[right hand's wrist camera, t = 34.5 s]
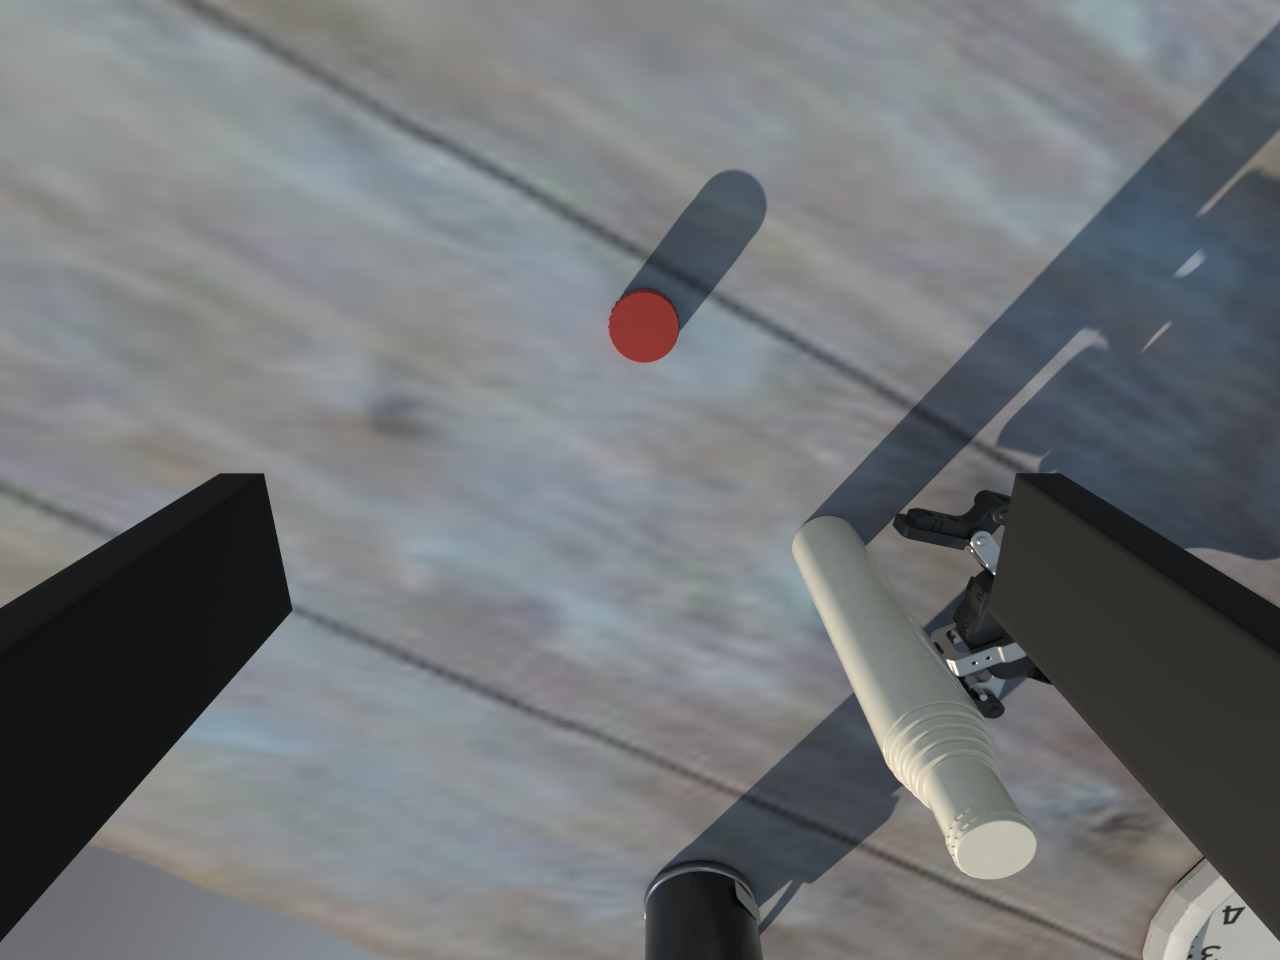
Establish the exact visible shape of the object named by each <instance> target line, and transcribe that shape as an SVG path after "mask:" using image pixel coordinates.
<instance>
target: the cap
mask: <svg viewBox="0 0 1280 960" xmlns="http://www.w3.org/2000/svg"><path fill="white" fill-rule="evenodd" d="M675 311H676V309H675V306H674V307H673V305H672V302H671V300H669V299H668V298H667V297H666V295H665V294H664V295H663V294H662V293H660V292H659V291H655V290H652V288H650V289H646V288H644V287H643V288H642V289H635V290H633V291H630V292H629V291H628V292H627V294H625V295H624V296H621V298H620V299H619V301H617V302H616V304H615V307H614V308H613V309H612V311H611V313H612V315H610V318H609V321H610V322H609V327H608V328H609V332H610V337H611V340H612V343H613V344H614V346H615V348H616V349H617V350H618V351H619V353H621V354H622V355H623V356H624V357H626V358H628V359H630V360H632V361H635V362H641V363H648V362H653V361H656V360H658V359H660V358H662V357H664V356H665V355H666V354H667V353H668V352H669V351H670V350H671V349H672V348H673V346H674V344H675V342H676V340H677V337H678V335H679V327H680V325H679V322H678V319H679V317H678V315H677V314H676V312H675Z"/></svg>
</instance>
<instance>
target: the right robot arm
mask: <svg viewBox="0 0 1280 960" xmlns="http://www.w3.org/2000/svg"><path fill="white" fill-rule="evenodd" d="M291 611H292V605H291V600H290V596H289V591H288V586H287V581H286V577H285V572H284V567H283V562H282V558H281V553H280V548H279V543H278V539H277V534H276V529H275V524H274V519H273V515H272V510H271V505H270V500H269V496H268V491H267V486H266V481H265V477H264V473H220V474H218V475H217V476H215V477H213V478H212V479H210V480H208V481H207V482H205V483H204V484H202V485H200V486H199V487H197V488H195V489H194V490H192V491H190V492H189V493H187V494H186V495H184V496H182V497H181V498H179V499H177V500H176V501H174V502H173V503H171V504H169V505H168V506H166V507H164V508H163V509H161V510H160V511H158V512H156V513H155V514H153V515H151V516H150V517H148V518H146V519H145V520H143V521H142V522H140V523H138V524H137V525H135V526H133V527H132V528H130V529H129V530H127V531H125V532H124V533H122V534H120V535H119V536H117V537H116V538H114V539H112V540H111V541H109V542H107V543H106V544H104V545H102V546H101V547H99V548H98V549H96V550H94V551H93V552H91V553H89V554H88V555H86V556H85V557H83V558H81V559H80V560H78V561H76V562H75V563H73V564H72V565H70V566H68V567H67V568H65V569H63V570H62V571H60V572H58V573H57V574H55V575H54V576H52V577H50V578H49V579H47V580H45V581H44V582H42V583H41V584H39V585H37V586H36V587H34V588H32V589H31V590H29V591H28V592H26V593H24V594H23V595H21V596H19V597H18V598H16V599H14V600H13V601H11V602H10V603H8V604H6V605H5V606H3V607H1V608H0V942H1V941H2V939H3V938H4V937H5V936H6V935H7V934H8V933H9V932H10V930H11V929H12V928H13V927H14V926H15V925H16V924H17V922H18V921H19V920H20V919H21V918H22V917H23V916H24V915H25V913H26V912H27V911H28V910H29V909H30V908H31V907H32V905H33V904H34V903H35V902H36V901H37V900H38V899H39V897H40V896H41V895H42V894H43V893H44V892H45V891H46V889H47V888H48V887H49V886H50V885H51V884H52V883H53V882H54V880H55V879H56V878H57V877H58V876H59V875H60V874H61V872H62V871H63V870H64V869H65V868H66V867H67V866H68V865H69V863H70V862H71V861H72V860H73V859H74V858H75V857H76V855H77V854H78V853H79V852H80V851H81V850H82V849H83V848H84V846H85V845H86V844H87V843H88V842H89V841H90V840H91V838H92V837H93V836H94V835H95V834H96V833H97V832H98V831H99V829H100V828H101V827H102V826H103V825H104V824H105V823H106V821H107V820H108V819H109V818H110V817H111V816H112V815H113V813H114V812H115V811H116V810H117V809H118V808H119V807H120V806H121V804H122V803H123V802H124V801H125V800H126V799H127V798H128V796H129V795H130V794H131V793H132V792H133V791H134V790H135V788H136V787H137V786H138V785H139V784H140V783H141V782H142V781H143V779H144V778H145V777H146V776H147V775H148V774H149V773H150V771H151V770H152V769H153V768H154V767H155V766H156V765H157V764H158V762H159V761H160V760H161V759H162V758H163V757H164V756H165V754H166V753H167V752H168V751H169V750H170V749H171V748H172V746H173V745H174V744H175V743H176V742H177V741H178V740H179V739H180V737H181V736H182V735H183V734H184V733H185V732H186V731H187V729H188V728H189V727H190V726H191V725H192V724H193V723H194V721H195V720H196V719H197V718H198V717H199V716H200V715H201V714H202V712H203V711H204V710H205V709H206V708H207V707H208V706H209V704H210V703H211V702H212V701H213V700H214V699H215V698H216V697H217V695H218V694H219V693H220V692H221V691H222V690H223V689H224V687H225V686H226V685H227V684H228V683H229V682H230V681H231V679H232V678H233V677H234V676H235V675H236V674H237V673H238V672H239V670H240V669H241V668H242V667H243V666H244V665H245V664H246V662H247V661H248V660H249V659H250V658H251V657H252V656H253V655H254V653H255V652H256V651H257V650H258V649H259V648H260V647H261V645H262V644H263V643H264V642H265V641H266V640H267V639H268V637H269V636H270V635H271V634H272V633H273V632H274V631H275V630H276V628H277V627H278V626H279V625H280V624H281V623H282V622H283V620H284V619H285V618H286V617H287V616H288V615H289V614H290V612H291ZM988 611H989V612H990V614H991V615H992V616H993V617H994V618H995V619H996V620H997V622H998V623H999V624H1000V625H1001V626H1002V627H1003V628H1004V630H1005V631H1006V632H1007V633H1008V634H1009V635H1010V636H1011V637H1012V639H1013V640H1014V641H1015V642H1016V643H1017V644H1018V645H1019V647H1020V648H1021V649H1022V650H1023V651H1024V652H1025V653H1026V655H1027V656H1028V657H1029V658H1030V659H1031V660H1032V661H1033V662H1034V664H1035V665H1036V666H1037V667H1038V668H1039V669H1040V670H1041V672H1042V673H1043V674H1044V675H1045V676H1046V677H1047V678H1048V679H1049V681H1050V682H1051V683H1052V684H1053V685H1054V686H1055V687H1056V689H1057V690H1058V691H1059V692H1060V693H1061V694H1062V695H1063V697H1064V698H1065V699H1066V700H1067V701H1068V702H1069V703H1070V704H1071V706H1072V707H1073V708H1074V709H1075V710H1076V711H1077V712H1078V714H1079V715H1080V716H1081V717H1082V718H1083V719H1084V720H1085V721H1086V723H1087V724H1088V725H1089V726H1090V727H1091V728H1092V729H1093V731H1094V732H1095V733H1096V734H1097V735H1098V736H1099V737H1100V739H1101V740H1102V741H1103V742H1104V743H1105V744H1106V745H1107V746H1108V748H1109V749H1110V750H1111V751H1112V752H1113V753H1114V754H1115V756H1116V757H1117V758H1118V759H1119V760H1120V761H1121V762H1122V764H1123V765H1124V766H1125V767H1126V768H1127V769H1128V770H1129V771H1130V773H1131V774H1132V775H1133V776H1134V777H1135V778H1136V779H1137V781H1138V782H1139V783H1140V784H1141V785H1142V786H1143V787H1144V788H1145V790H1146V791H1147V792H1148V793H1149V794H1150V795H1151V796H1152V798H1153V799H1154V800H1155V801H1156V802H1157V803H1158V804H1159V806H1160V807H1161V808H1162V809H1163V810H1164V811H1165V812H1166V813H1167V815H1168V816H1169V817H1170V818H1171V819H1172V820H1173V821H1174V823H1175V824H1176V825H1177V826H1178V827H1179V828H1180V829H1181V831H1182V832H1183V833H1184V834H1185V835H1186V836H1187V837H1188V838H1189V840H1190V841H1191V842H1192V843H1193V844H1194V845H1195V846H1196V848H1197V849H1198V850H1199V851H1200V852H1201V853H1202V854H1203V855H1204V857H1205V858H1206V859H1207V860H1208V861H1209V862H1210V863H1211V865H1212V866H1213V867H1214V868H1215V869H1216V870H1217V871H1218V873H1219V874H1220V875H1221V876H1222V877H1223V878H1224V879H1225V880H1226V882H1227V883H1228V884H1229V885H1230V886H1231V887H1232V888H1233V890H1234V891H1235V892H1236V893H1237V894H1238V895H1239V896H1240V897H1241V899H1242V900H1243V901H1244V902H1245V903H1246V904H1247V905H1248V907H1249V908H1250V909H1251V910H1252V911H1253V912H1254V913H1255V915H1256V916H1257V917H1258V918H1259V919H1260V920H1261V921H1262V922H1263V924H1264V925H1265V926H1266V927H1267V928H1268V929H1269V930H1270V932H1271V933H1272V934H1273V935H1274V936H1275V937H1276V938H1277V940H1278V941H1279V942H1280V608H1279V607H1277V606H1275V605H1274V604H1272V603H1270V602H1269V601H1267V600H1266V599H1264V598H1262V597H1261V596H1259V595H1257V594H1256V593H1254V592H1252V591H1251V590H1249V589H1248V588H1246V587H1244V586H1243V585H1241V584H1239V583H1238V582H1236V581H1235V580H1233V579H1231V578H1230V577H1228V576H1226V575H1225V574H1223V573H1222V572H1220V571H1218V570H1217V569H1215V568H1213V567H1212V566H1210V565H1208V564H1207V563H1205V562H1204V561H1202V560H1200V559H1199V558H1197V557H1195V556H1194V555H1192V554H1191V553H1189V552H1187V551H1186V550H1184V549H1182V548H1181V547H1179V546H1178V545H1176V544H1174V543H1173V542H1171V541H1169V540H1168V539H1166V538H1164V537H1163V536H1161V535H1160V534H1158V533H1156V532H1155V531H1153V530H1151V529H1150V528H1148V527H1147V526H1145V525H1143V524H1142V523H1140V522H1138V521H1137V520H1135V519H1134V518H1132V517H1130V516H1129V515H1127V514H1125V513H1124V512H1122V511H1120V510H1119V509H1117V508H1116V507H1114V506H1112V505H1111V504H1109V503H1107V502H1106V501H1104V500H1103V499H1101V498H1099V497H1098V496H1096V495H1094V494H1093V493H1091V492H1090V491H1088V490H1086V489H1085V488H1083V487H1081V486H1080V485H1078V484H1076V483H1075V482H1073V481H1072V480H1070V479H1068V478H1067V477H1065V476H1063V475H1062V474H1060V473H1016V477H1015V481H1014V486H1013V491H1012V496H1011V500H1010V505H1009V510H1008V515H1007V519H1006V524H1005V529H1004V534H1003V538H1002V543H1001V548H1000V553H999V558H998V562H997V567H996V572H995V577H994V581H993V586H992V591H991V596H990V600H989V605H988Z"/></svg>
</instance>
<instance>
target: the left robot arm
mask: <svg viewBox="0 0 1280 960" xmlns="http://www.w3.org/2000/svg"><path fill="white" fill-rule="evenodd" d="M1010 500H1011V497H1010V496H1006V495H1003V494H999V493H996V492H992V491H989V490H983V491H980V492H979V493H978V494H977V495H976V496H975V498H974V503H975V505H974V506H973V507H972V508H971V509H970V511H969V512H967V513H966V514H964V515H961V516H953V515H949V514H944V513H939V512H935V511H930V510H925V509H921V508H914V509H909V510H908V513H907V515H905V514H899V513H898V514H896V517H895V519H894V522H893V526H894V527H895V529H896V530H897V531H898V532H899V533H900V534H901V535H902V536H904V537H906V538H908V539H912V540H917V541H922V542H927V543H931V544H936V545H941V546H946V547H950V548H955V549H960V550H964V548H965V546H967V547H968V549H969V551H970V552H971V553H972V555H973V556H974V557H975V559H976V560H977V561H978V563H979V564H980V565H981V567H982V568H983V569H984V570H983V571H982V572H980V573H979V574H978V575H977V576H976V577H971V578H970V580H969V582H968V585H967V587H966V594H965V599H964V600H963V602H962V603H961V604H960V605H959V607H958V608H957V610H956V612H955V614H954V617H953V620H954V621H955V622H956V623H953V624H950V625H948V626H945V627H942V628H940V629H937V630H935V631H933V632H932V635H931V637H929V638H930V639H931V641H932V642H933V644H934V645H935V647H936V648H937V650H938V651H939V652H940V654H941V655H942V657H943V658H944V660H945V661H946V663H947V664H948V665H949V667H950V668H951V670H952V671H953V673H954V674H955V675H956V677H957V679H958V680H959V681H960V683H961V684H962V686H963V687H964V689H965V690H966V692H967V693H968V695H969V696H970V697H971V699H972V700H973V702H974V703H975V705H976V706H977V708H978V709H979V711H980V712H981V713H982V715H983V716H984V717H986V718H998V717H1000V716H1001V715H1002V714H1003V713H1004V710H1005V708H1004V706H1003V705H1002V703H1001V702H1000V701H999V699H998V698H999V695H1000V693H1001V691H1002V688H1003V686H1004V683H1005V681H1006V680H1009V679H1013V678H1018V677H1029V678H1032V679H1035V680H1038V681H1040V682H1043V683H1046V684H1050V685H1053V684H1052V683H1051V682H1050V681H1049V679H1048V678H1047V677H1046V676H1045V675H1044V674H1043V673H1042V672H1041V670H1040V669H1039V668H1038V667H1037V666H1036V665H1035V664H1034V662H1033V661H1032V660H1031V659H1030V658H1029V657H1028V656H1027V655H1026V653H1025V652H1024V651H1023V650H1022V649H1021V648H1020V647H1019V645H1018V644H1017V643H1016V642H1015V641H1014V640H1013V639H1012V637H1011V636H1010V635H1009V634H1008V633H1007V632H1006V631H1005V630H1004V628H1003V627H1002V626H1001V625H1000V624H999V623H998V622H997V620H996V619H995V618H994V617H993V616H992V615H991V614H990V612H989V611H988V605H989V600H990V596H991V591H992V586H993V581H994V577H995V572H996V567H997V562H998V558H999V553H1000V546H999V545H998V544H997V542H996V541H995V540H994V538H993V537H992V534H993V533H994V532H995V531H996V530H997V528H998V527H999V526H1000V525H1004V526H1005V524H1006V519H1007V515H1008V510H1009V505H1010ZM963 641H964V642H965V644H966V645H967V646H968V647H969V649H970V650H969V651H966V652H961V651H958V650H957V649H956V648H955V647H954V645H955V644H958V643H960V642H963ZM984 668H986V669H985V670H984V671H983V672H982V673H980V674H972V675H971V673H973V672H975V671H978V670H981V669H984ZM958 676H964V677H958ZM644 915H645V919H646V944H645V960H763V955H762V949H761V943H760V936H759V930H758V924H757V920H758V921H759V922H760V923H761V920H760V914H759V908H758V905H757V904H756V903H755V898H754V893H753V890H752V888H751V886H750V884H749V883H748V881H747V880H746V879H745V878H744V877H743V876H742V875H741V874H739V873H738V872H736V871H735V870H733V869H731V868H729V867H726V866H724V865H720V864H716V863H711V862H691V863H685V864H681V865H678V866H675V867H672V868H670V869H668V870H666V871H664V872H663V873H661V874H660V875H659V876H657V877H656V878H655V879H654V880H653V881H652V883H651V884H650V885H649V887H648V889H647V891H646V894H645V898H644Z"/></svg>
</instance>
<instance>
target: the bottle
mask: <svg viewBox="0 0 1280 960" xmlns="http://www.w3.org/2000/svg"><path fill="white" fill-rule="evenodd" d="M792 551H793V556H794V559H795V561H796V563H797V565H798V568H799V570H800V572H801V574H802V577H803V579H804V581H805V583H806V585H807V588H808V590H809V592H810V594H811V597H812V599H813V601H814V603H815V606H816V608H817V610H818V612H819V614H820V617H821V619H822V621H823V623H824V626H825V628H826V630H827V632H828V634H829V637H830V639H831V641H832V643H833V646H834V648H835V650H836V652H837V654H838V657H839V659H840V661H841V663H842V666H843V668H844V670H845V672H846V674H847V677H848V679H849V681H850V683H851V686H852V688H853V690H854V692H855V694H856V697H857V699H858V701H859V703H860V706H861V708H862V710H863V712H864V714H865V717H866V719H867V721H868V723H869V726H870V728H871V730H872V732H873V734H874V737H875V739H876V741H877V743H878V746H879V748H880V750H881V752H882V755H883V757H884V759H885V761H886V763H887V765H888V767H889V768H890V769H891V771H892V772H893V773H894V775H895V776H896V778H897V779H898V780H899V781H900V782H901V783H902V784H904V785H905V787H906V788H907V789H909V790H910V791H911V792H912V793H913V794H914V795H915V796H916V797H917V798H918V799H920V800H921V802H922V803H923V804H924V805H925V806H927V807H928V808H930V809H931V810H932V812H933V814H934V816H935V818H936V820H937V822H938V824H939V826H940V828H941V830H942V832H943V834H944V836H945V838H946V845H947V848H948V850H949V852H950V854H951V855H952V858H953V860H954V863H955V864H956V865H957V866H958V868H959V869H960V870H961V871H963V872H964V873H966V874H968V875H969V876H972V877H976V878H980V879H999V878H1004V877H1007V876H1010V875H1013V874H1015V873H1017V872H1018V871H1020V870H1022V869H1023V868H1024V867H1025V866H1027V865H1028V864H1029V862H1030V861H1031V860H1032V859H1033V857H1034V855H1035V853H1036V850H1037V840H1036V836H1035V834H1034V833H1035V832H1034V830H1033V827H1032V824H1031V823H1030V822H1029V820H1028V819H1027V818H1026V817H1025V816H1023V815H1022V814H1021V812H1020V810H1019V809H1018V807H1017V806H1016V804H1015V803H1014V801H1013V800H1012V798H1011V796H1010V795H1009V793H1008V792H1007V790H1006V789H1005V787H1004V785H1003V784H1002V782H1001V781H1000V778H1001V777H1000V770H999V766H998V759H997V756H996V748H995V744H994V738H993V735H992V732H991V730H990V728H989V725H988V723H987V721H986V719H985V718H984V716H983V715H982V713H981V712H980V711H979V709H978V708H977V706H976V705H975V703H974V702H973V700H972V699H971V697H970V696H969V695H968V693H967V692H966V690H965V689H964V687H963V686H962V684H961V683H960V681H959V680H958V679H957V677H956V676H955V674H954V673H953V671H952V670H951V668H950V667H949V665H948V664H947V663H946V661H945V660H944V658H943V657H942V655H941V654H940V652H939V651H938V650H937V648H936V647H935V645H934V644H933V642H932V641H931V639H930V638H929V636H928V635H927V634H926V632H925V631H924V629H923V628H922V626H921V625H920V623H919V622H918V620H917V619H916V618H915V616H914V615H913V613H912V612H911V610H910V609H909V607H908V606H907V605H906V603H905V602H904V600H903V599H902V597H901V596H900V594H899V593H898V591H897V590H896V589H895V587H894V586H893V584H892V583H891V581H890V580H889V578H888V577H887V575H886V574H885V573H884V571H883V570H882V568H881V567H880V565H879V564H878V562H877V561H876V559H875V558H874V557H873V555H872V554H871V552H870V551H869V549H868V548H867V546H866V545H865V544H864V542H863V541H862V539H861V538H860V536H859V535H858V533H857V532H856V530H855V529H854V528H853V526H852V525H851V524H850V523H849V522H847V521H846V520H844V519H842V518H839V517H835V516H822V517H817V518H814V519H812V520H810V521H809V522H807V523H806V524H804V525H803V526H802V527H801V528H800V529H799V531H798V532H797V534H796V535H795V538H794V540H793V545H792Z"/></svg>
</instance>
